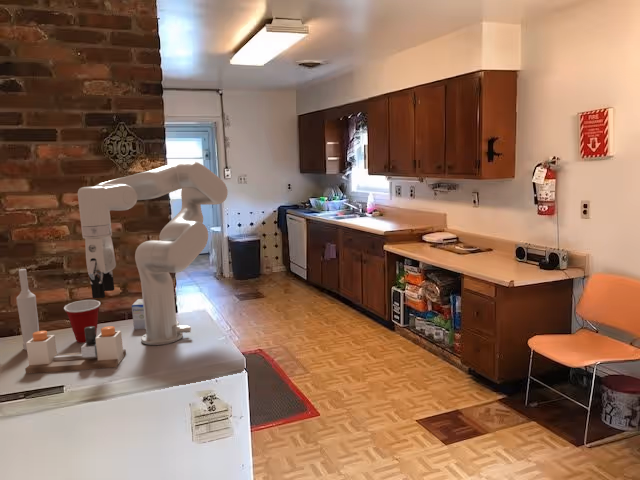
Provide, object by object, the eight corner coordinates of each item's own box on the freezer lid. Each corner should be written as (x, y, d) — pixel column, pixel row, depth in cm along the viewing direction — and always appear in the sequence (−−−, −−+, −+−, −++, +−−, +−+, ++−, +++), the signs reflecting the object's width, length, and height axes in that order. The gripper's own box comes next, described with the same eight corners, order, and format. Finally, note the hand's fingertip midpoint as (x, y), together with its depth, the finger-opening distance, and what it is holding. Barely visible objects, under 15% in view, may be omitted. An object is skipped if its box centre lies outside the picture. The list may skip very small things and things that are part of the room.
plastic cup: (67, 348, 163) (62, 310, 161) (68, 338, 173) (64, 302, 171) (105, 342, 167) (101, 305, 166) (103, 332, 177) (100, 297, 175)
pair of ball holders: (123, 357, 153) (120, 330, 152) (118, 364, 148) (115, 336, 147) (38, 363, 152) (35, 336, 150) (29, 370, 146) (26, 342, 145)
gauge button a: (116, 332, 151) (116, 325, 151) (113, 336, 148) (112, 329, 147) (104, 333, 151) (103, 326, 151) (99, 337, 147) (99, 330, 147)
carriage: (102, 348, 153) (99, 324, 152) (95, 356, 147) (92, 330, 146) (89, 349, 152) (87, 324, 151) (82, 357, 147) (79, 331, 145)
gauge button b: (50, 337, 150) (49, 330, 149) (44, 341, 146) (43, 334, 146) (36, 337, 150) (36, 331, 149) (31, 342, 146) (30, 335, 146)
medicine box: (139, 322, 187) (137, 299, 185) (152, 321, 187) (150, 298, 186) (133, 329, 179) (131, 305, 178) (147, 328, 179) (144, 304, 178)
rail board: (126, 354, 155) (125, 346, 155) (115, 367, 146) (114, 358, 145) (42, 360, 154) (41, 351, 153) (25, 373, 144) (24, 364, 144)
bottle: (29, 351, 162) (18, 272, 158) (19, 349, 164) (9, 270, 161) (45, 346, 166) (35, 268, 162) (36, 343, 169) (26, 267, 165)
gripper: (100, 235, 136) (107, 301, 139) (120, 226, 154) (126, 286, 156) (70, 236, 136) (78, 303, 139) (94, 228, 153) (100, 287, 156)
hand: (103, 293), depth 147 cm, fingers open, 7 cm apart
